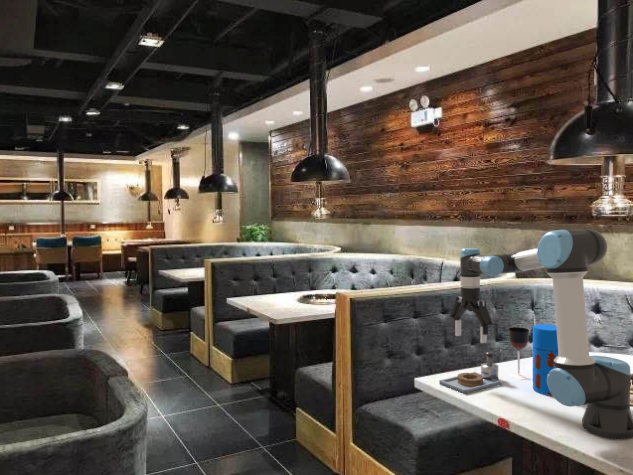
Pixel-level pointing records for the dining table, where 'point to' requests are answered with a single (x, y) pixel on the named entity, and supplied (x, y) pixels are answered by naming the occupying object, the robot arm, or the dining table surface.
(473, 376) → the ring
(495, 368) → the metal peg stand
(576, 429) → the dining table surface
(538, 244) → the robot arm
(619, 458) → the dining table surface
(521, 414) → the dining table surface
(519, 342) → the wineglass
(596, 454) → the dining table surface
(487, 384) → the tray
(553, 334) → the thermos
